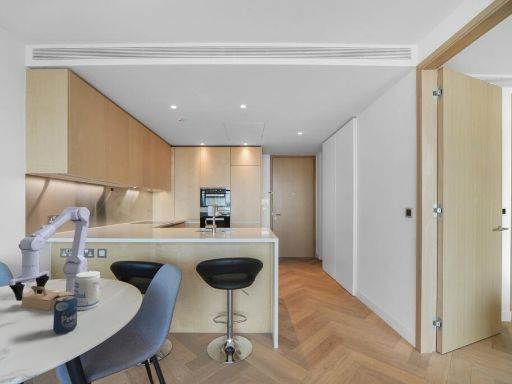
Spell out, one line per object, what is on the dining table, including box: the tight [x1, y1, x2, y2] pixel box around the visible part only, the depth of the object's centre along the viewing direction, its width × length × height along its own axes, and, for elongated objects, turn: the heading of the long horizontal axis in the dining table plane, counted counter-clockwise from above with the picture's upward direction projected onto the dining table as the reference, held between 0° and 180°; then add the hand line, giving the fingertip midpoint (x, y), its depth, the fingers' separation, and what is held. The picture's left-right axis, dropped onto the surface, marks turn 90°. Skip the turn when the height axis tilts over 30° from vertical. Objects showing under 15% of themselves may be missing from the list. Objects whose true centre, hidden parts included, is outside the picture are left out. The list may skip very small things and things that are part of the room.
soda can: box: [52, 295, 78, 336], centre depth 93 cm, size 7×7×12 cm
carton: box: [21, 288, 72, 311], centre depth 117 cm, size 10×16×4 cm, turn 76°
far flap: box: [22, 285, 60, 301], centre depth 113 cm, size 5×16×5 cm, turn 76°
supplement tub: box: [74, 270, 101, 311], centre depth 115 cm, size 10×10×15 cm
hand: (29, 296), depth 109 cm, fingers open, 7 cm apart
